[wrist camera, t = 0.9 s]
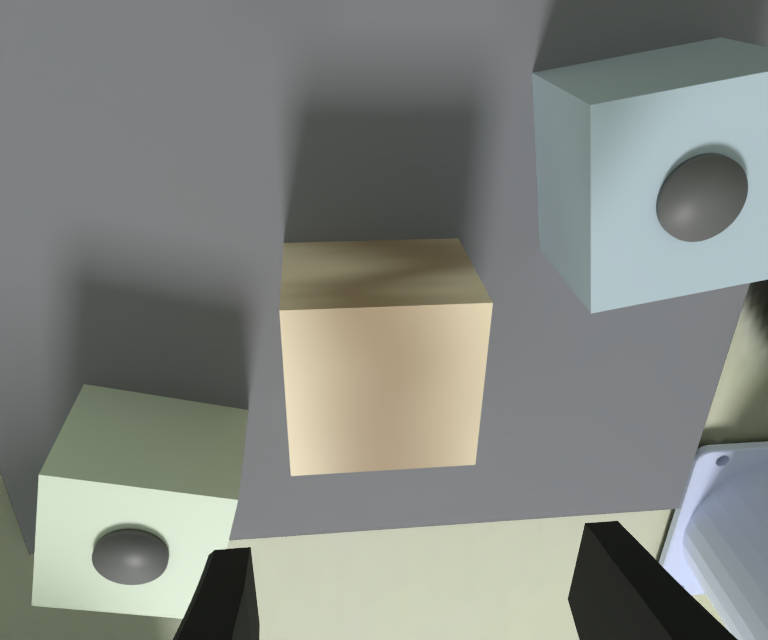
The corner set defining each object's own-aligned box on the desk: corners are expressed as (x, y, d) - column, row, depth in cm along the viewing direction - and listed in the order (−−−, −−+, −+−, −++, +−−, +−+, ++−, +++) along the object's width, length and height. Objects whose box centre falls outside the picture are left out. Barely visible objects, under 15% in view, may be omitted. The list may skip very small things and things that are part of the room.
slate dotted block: (720, 37, 17) (833, 61, 14) (705, 217, 20) (796, 278, 16) (531, 72, 17) (593, 107, 13) (539, 248, 20) (594, 317, 16)
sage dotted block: (248, 410, 21) (237, 505, 18) (222, 521, 24) (208, 626, 20) (83, 383, 20) (35, 480, 17) (73, 503, 22) (29, 611, 19)
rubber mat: (831, -10, 17) (842, -9, 17) (673, 501, 26) (678, 508, 26) (-161, -23, 15) (-173, -22, 15) (33, 545, 24) (29, 554, 23)
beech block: (458, 238, 19) (493, 303, 16) (447, 381, 22) (475, 464, 18) (283, 243, 19) (279, 310, 15) (292, 388, 21) (291, 475, 18)
